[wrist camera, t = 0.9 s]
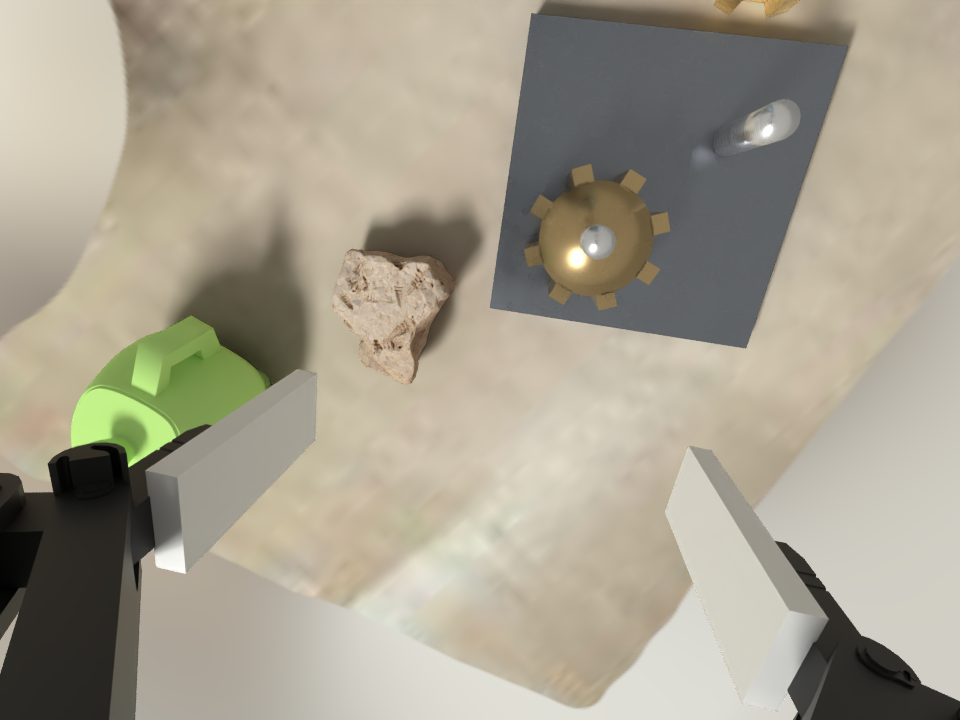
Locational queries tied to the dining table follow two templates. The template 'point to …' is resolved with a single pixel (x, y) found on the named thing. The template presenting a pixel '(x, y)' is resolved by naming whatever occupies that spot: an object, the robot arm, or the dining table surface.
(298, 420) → the robot arm
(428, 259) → the stone
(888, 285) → the dining table surface
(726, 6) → the planet gear
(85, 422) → the teapot
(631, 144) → the plate
